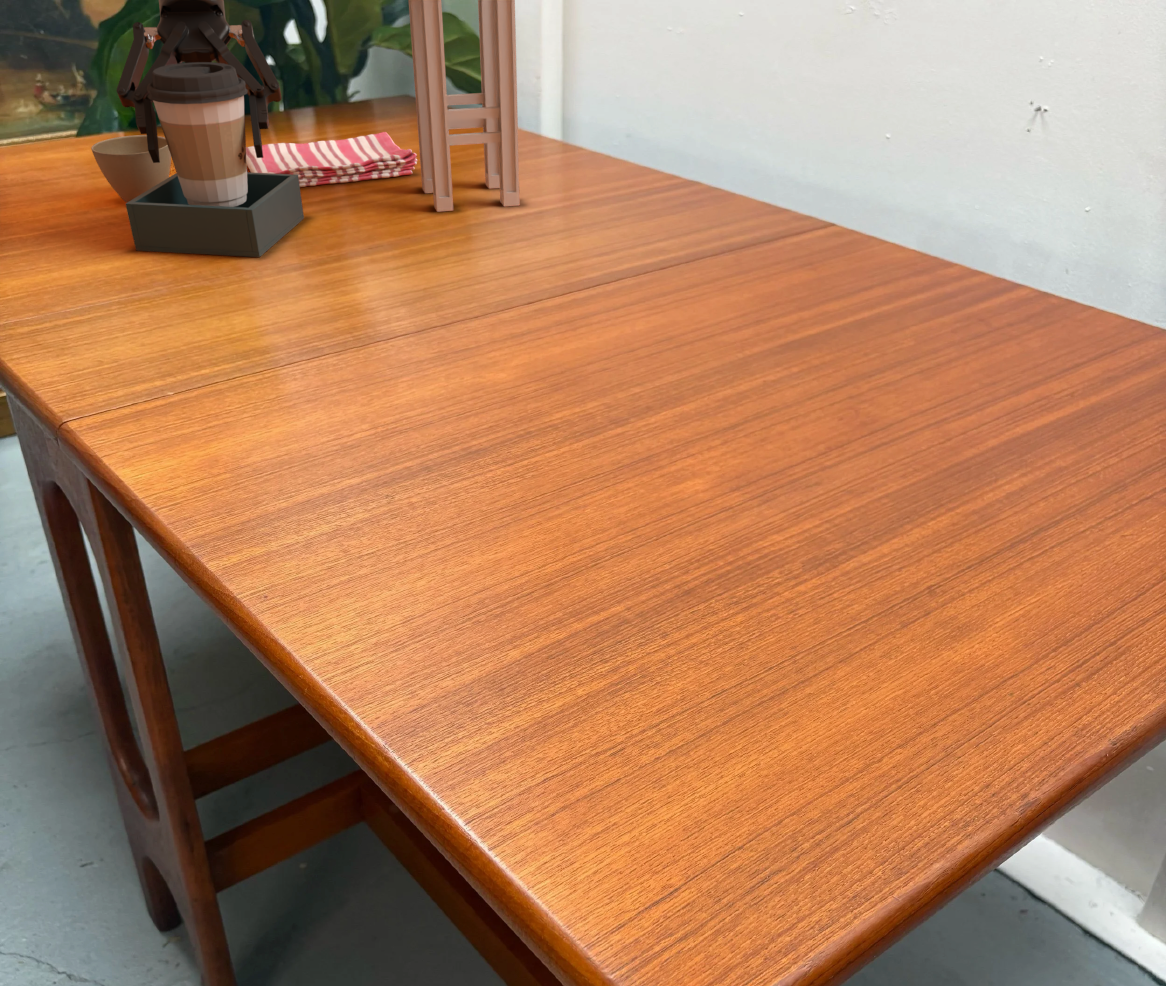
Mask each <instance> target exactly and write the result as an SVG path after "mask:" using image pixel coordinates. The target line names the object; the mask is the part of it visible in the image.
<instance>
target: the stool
mask: <svg viewBox="0 0 1166 986" xmlns="http://www.w3.org/2000/svg"><path fill="white" fill-rule="evenodd" d="M442 7H443V6H442V0H408V14H409V25H410V39H411V41H410V42H411V53H412V54H411V55H412V66H413V68H412V69H413V81H414V94H415V95H414V96H415V107H416V108H415V109H416V122H417V134H418V136H417V137H418V148H419V149H418V150H419V162H420V177H421V178H420V179H421V190H422V191H423V193H424V194H433V195H432V196H433V207H434V209H435V211H436V212H439V213H440V212H451V211H453V212H454V196H453V180H452V162H451V146H465V145H467V146H468V145H479V144H481V145H483V156H484V157H483V158H484V159H483V161H484V180H485V181H484V183H485V186H486V187H487V188H488V189H499V202H500V203H501V205H502V206H503V207H515V206H521V205H520V204H521V202H520V163H519V162H520V160H519V159H520V157H519V122H518V120H519V119H518V118H519V117H518V78H517V77H518V75H517V35H516V0H477V10H478V11H477V13H478V35H479V36H478V37H479V55H480V56H479V57H480V58H479V59H480V60H479V62H480V82H481V84H480V86H481V87H480V88H481V92H476V93H456V94H448V93H447V92H448V90H447V75H446V58H445V40H444V24H443V23H444V22H443V8H442ZM462 105H481V107H466V108H448V106H462ZM478 128H482V132H468V133H454V134H453V133H451V134H450V130H461V129H463V130H464V129H478Z"/></svg>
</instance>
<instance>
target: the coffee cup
mask: <svg viewBox="0 0 1166 986" xmlns="http://www.w3.org/2000/svg"><path fill="white" fill-rule="evenodd" d="M152 80H153V82H151V83H150V84H149V85H148V86H147V91H148V96H147V97H148V98H149V99H150V100H153V105H154V109H155V112H156V115H157V118H158V121H159V124H160V126H161V130H162V133H163V135H164V136H163V137H164V138H165V139H166V142H167V145H168V148H169V151H170V154H171V161H172V162H173V166H174V169H175V172H176V173H177V176H178V179H179V182H180V185H181V188H182V191H183V194H184V196H185V198H186V199H187V202H188V204H189V205H204V206H224V207H235V206H238V205H241V204H243V203H244V202H246V199H247V195H246V194H247V192H248V185H247V172H248V166H247V160H246V147H247V140H246V139H247V137H246V118H245V117H246V115H245V114H246V113H245V112H246V111H245V95H248V94H247V92H248V90H247V89H246V87H245V85H246V83H245V81H244V80H242V79H241V78H238V76H237V73H236V70H235V68H234V67H233V66H231V65H228V64H224V63H217V62H215V61H212V62H192V63H185V62H182V63H179V64H172V65H167V66H162V67H159V68H157V69H155V70H154V71H153V72H152Z"/></svg>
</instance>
